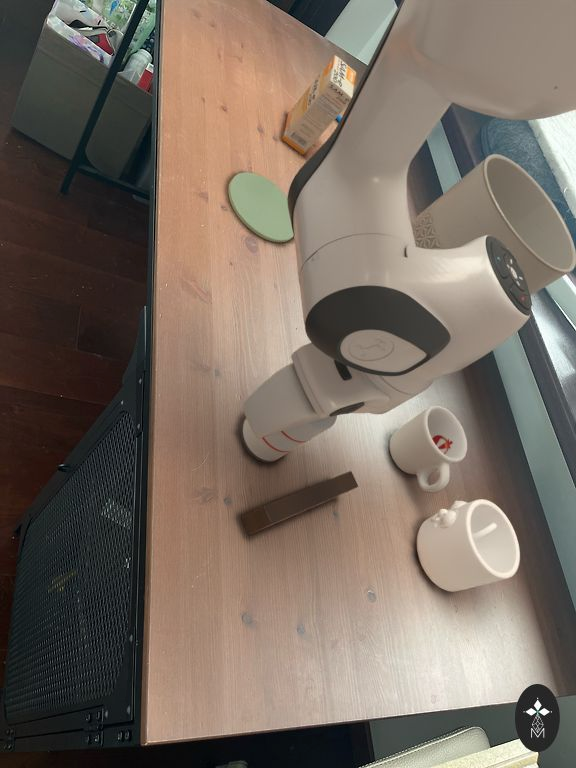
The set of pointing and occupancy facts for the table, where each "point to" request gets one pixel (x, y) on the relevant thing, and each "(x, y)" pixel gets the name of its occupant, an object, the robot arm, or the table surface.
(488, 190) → the planter
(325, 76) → the supplement box
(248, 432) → the white striped cylinder
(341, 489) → the rail
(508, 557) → the mug
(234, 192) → the coaster
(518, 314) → the robot arm
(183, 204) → the table surface
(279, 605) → the table surface
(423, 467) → the cup
